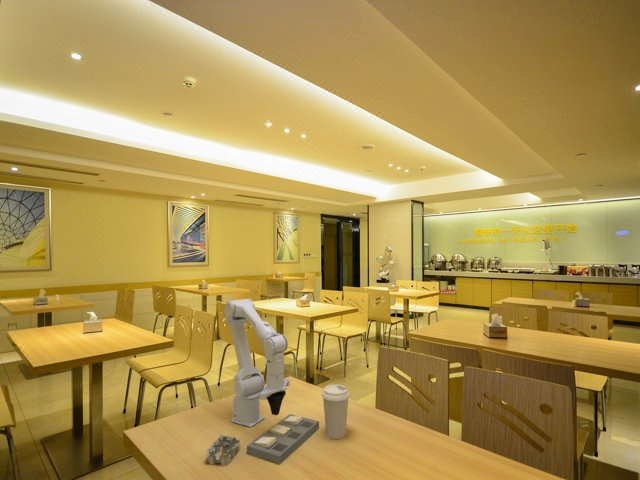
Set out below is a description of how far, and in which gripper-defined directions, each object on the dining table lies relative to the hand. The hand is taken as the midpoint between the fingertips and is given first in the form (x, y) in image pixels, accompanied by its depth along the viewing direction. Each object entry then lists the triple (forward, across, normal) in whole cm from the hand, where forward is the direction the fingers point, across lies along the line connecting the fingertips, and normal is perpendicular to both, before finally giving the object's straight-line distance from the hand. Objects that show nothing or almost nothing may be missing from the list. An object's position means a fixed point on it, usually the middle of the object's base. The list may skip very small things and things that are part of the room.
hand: (275, 414), depth 117 cm
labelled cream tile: (+5, +8, -2) cm, 10 cm away
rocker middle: (+5, 0, -2) cm, 5 cm away
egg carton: (+8, -16, +8) cm, 19 cm away
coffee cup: (+8, +11, -17) cm, 22 cm away
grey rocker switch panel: (+7, 0, -4) cm, 8 cm away
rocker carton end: (+5, -8, -2) cm, 10 cm away
